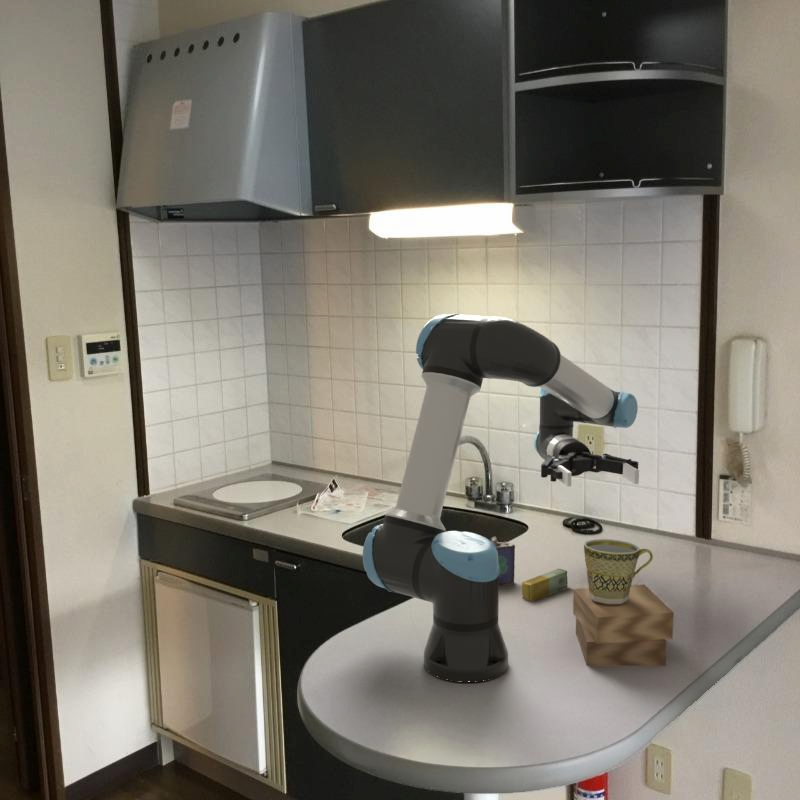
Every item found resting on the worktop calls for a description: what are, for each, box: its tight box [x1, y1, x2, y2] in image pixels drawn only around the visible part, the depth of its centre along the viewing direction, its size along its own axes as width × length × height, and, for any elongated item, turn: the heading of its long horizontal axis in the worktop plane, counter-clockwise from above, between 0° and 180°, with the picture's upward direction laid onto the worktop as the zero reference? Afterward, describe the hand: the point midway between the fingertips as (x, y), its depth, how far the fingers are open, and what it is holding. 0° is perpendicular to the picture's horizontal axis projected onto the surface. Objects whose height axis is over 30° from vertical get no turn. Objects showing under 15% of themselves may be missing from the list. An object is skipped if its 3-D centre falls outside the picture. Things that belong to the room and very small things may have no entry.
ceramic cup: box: [583, 538, 654, 604], centre depth 179 cm, size 13×10×10 cm
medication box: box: [521, 568, 568, 602], centre depth 209 cm, size 12×3×4 cm, turn 130°
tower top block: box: [572, 583, 675, 644], centre depth 180 cm, size 14×14×5 cm
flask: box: [489, 536, 516, 586], centre depth 214 cm, size 9×3×11 cm, turn 109°
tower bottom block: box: [575, 617, 667, 667], centre depth 181 cm, size 14×14×5 cm
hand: (603, 478), depth 189 cm, fingers open, 13 cm apart
